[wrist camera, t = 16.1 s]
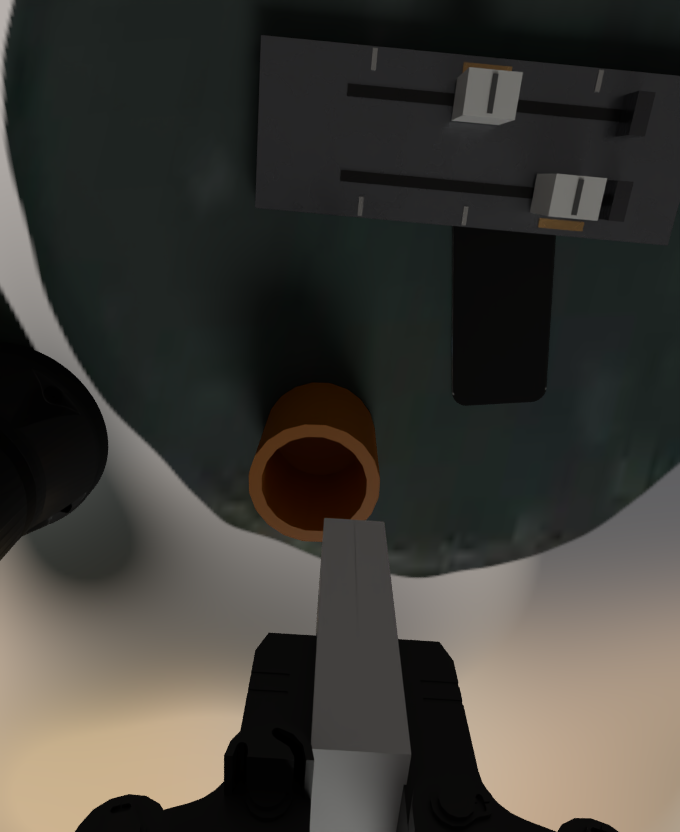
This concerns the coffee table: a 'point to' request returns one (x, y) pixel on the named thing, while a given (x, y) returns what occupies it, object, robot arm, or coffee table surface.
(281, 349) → the coffee table surface
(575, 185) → the fader
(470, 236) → the smartphone
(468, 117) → the block
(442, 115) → the console
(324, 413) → the mug
